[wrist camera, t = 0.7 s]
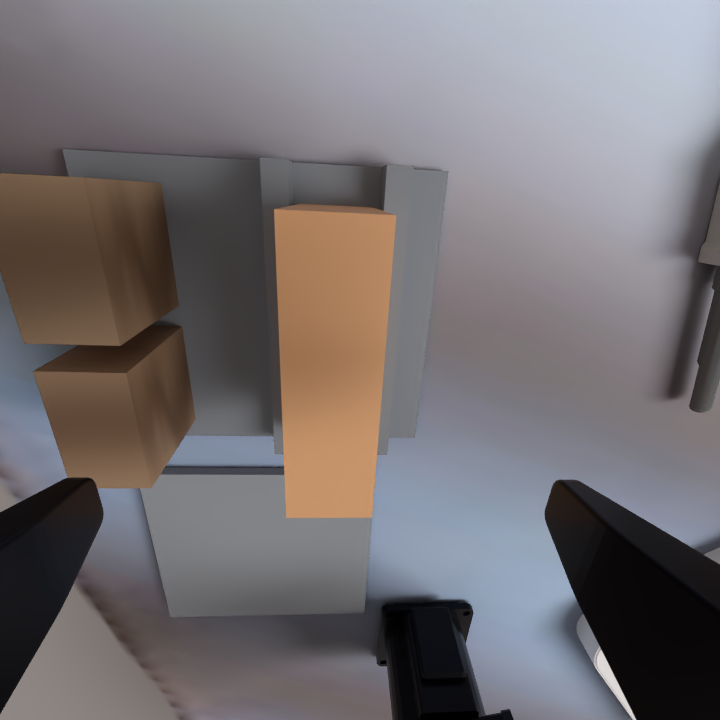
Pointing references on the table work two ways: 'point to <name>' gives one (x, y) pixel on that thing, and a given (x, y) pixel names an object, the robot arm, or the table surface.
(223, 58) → the table surface
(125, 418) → the offcut
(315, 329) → the light brown flat block
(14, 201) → the offcut
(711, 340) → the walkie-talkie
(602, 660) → the white plate
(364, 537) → the mat
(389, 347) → the rack
